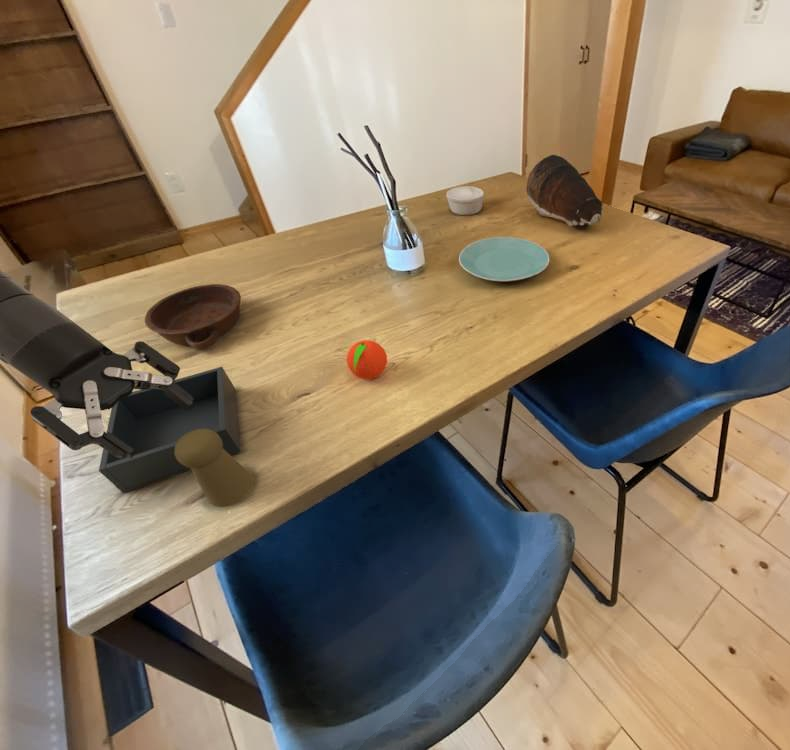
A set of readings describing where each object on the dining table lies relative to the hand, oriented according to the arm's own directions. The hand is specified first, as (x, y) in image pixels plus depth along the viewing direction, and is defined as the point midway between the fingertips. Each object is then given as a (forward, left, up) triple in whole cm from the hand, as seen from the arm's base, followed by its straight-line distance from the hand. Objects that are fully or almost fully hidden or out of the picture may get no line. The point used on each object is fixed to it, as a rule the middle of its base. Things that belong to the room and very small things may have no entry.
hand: (164, 430), depth 57 cm
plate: (+67, +34, -11) cm, 76 cm away
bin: (-3, +10, -11) cm, 15 cm away
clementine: (+27, +10, -11) cm, 31 cm away
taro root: (+96, +50, -11) cm, 109 cm away
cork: (+3, -4, -11) cm, 12 cm away
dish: (0, +42, -11) cm, 43 cm away
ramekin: (+73, +71, -11) cm, 103 cm away
